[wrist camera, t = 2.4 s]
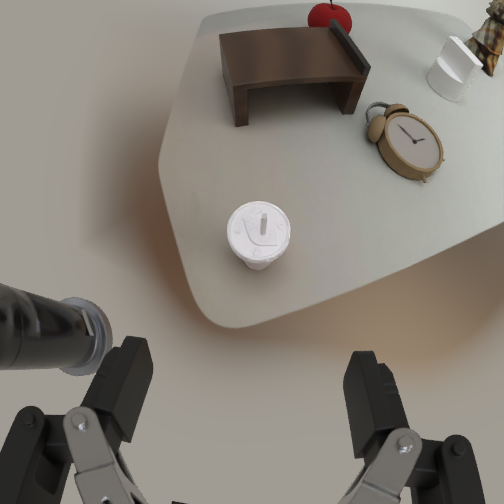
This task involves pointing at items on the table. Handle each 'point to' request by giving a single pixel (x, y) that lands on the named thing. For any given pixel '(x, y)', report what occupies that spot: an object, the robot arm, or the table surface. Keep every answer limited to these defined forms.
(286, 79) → the shelf
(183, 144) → the table surface
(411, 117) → the alarm clock
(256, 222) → the smoothie
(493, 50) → the plaid figurine
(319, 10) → the apple
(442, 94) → the cylinder with rectangular tab
